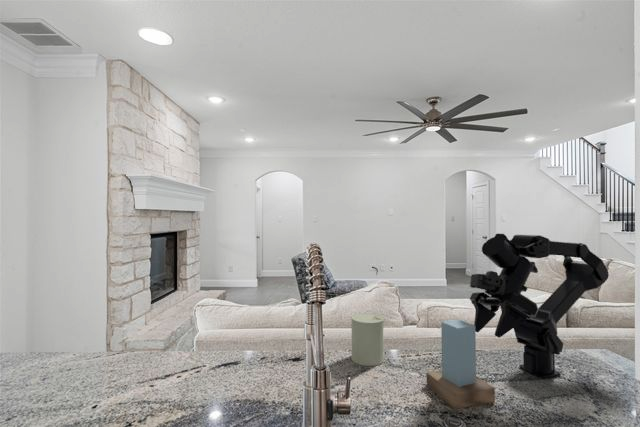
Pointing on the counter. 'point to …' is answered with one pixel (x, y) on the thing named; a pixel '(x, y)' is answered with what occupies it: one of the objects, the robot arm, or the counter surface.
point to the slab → (461, 391)
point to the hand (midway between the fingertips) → (485, 333)
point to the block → (458, 352)
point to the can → (367, 339)
